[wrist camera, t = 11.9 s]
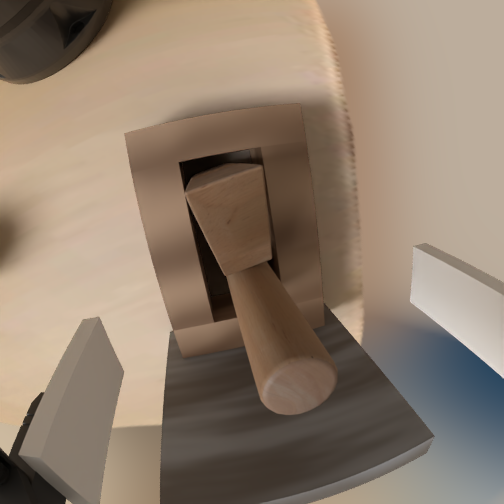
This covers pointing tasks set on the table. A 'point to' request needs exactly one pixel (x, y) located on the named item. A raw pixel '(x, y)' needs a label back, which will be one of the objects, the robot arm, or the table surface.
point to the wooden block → (260, 290)
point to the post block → (232, 344)
